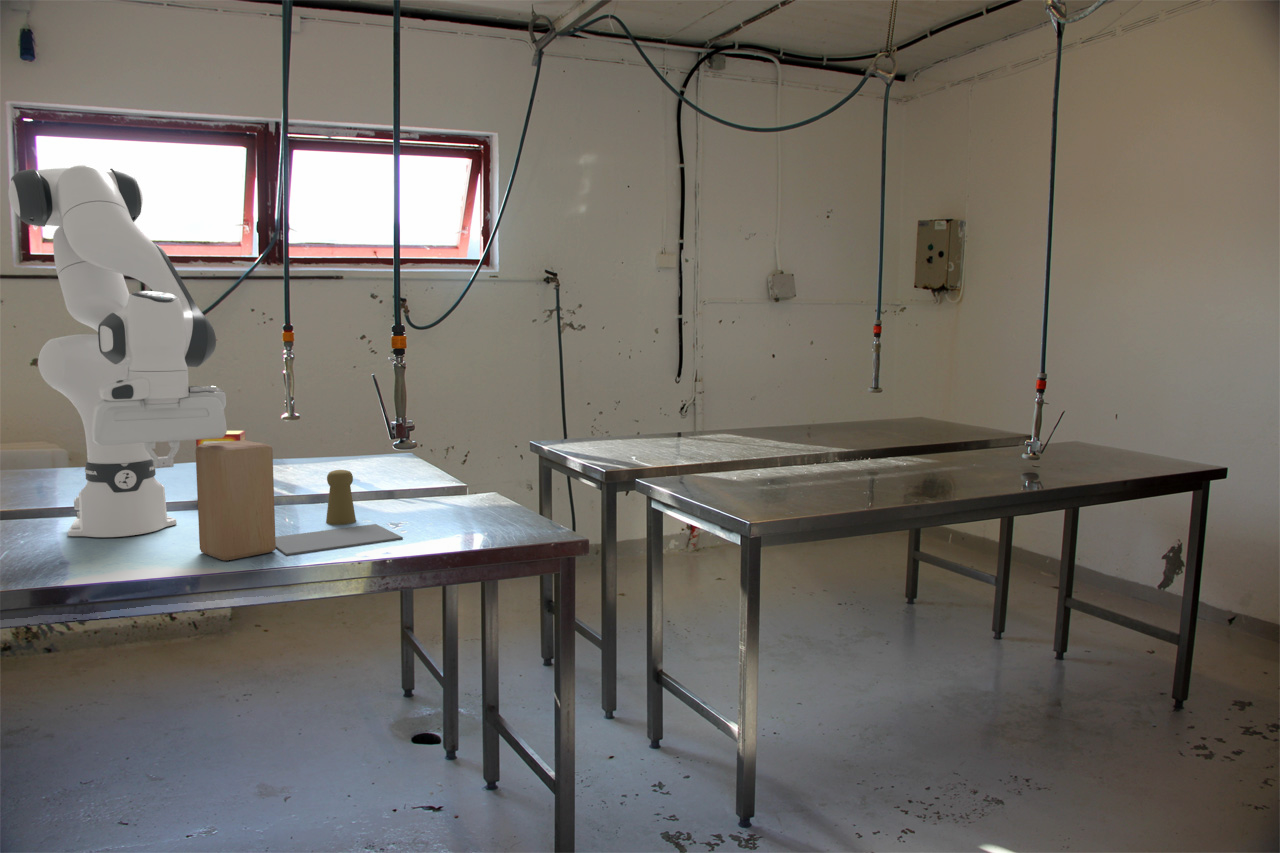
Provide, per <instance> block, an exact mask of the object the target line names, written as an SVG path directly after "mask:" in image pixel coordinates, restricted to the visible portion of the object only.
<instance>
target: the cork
mask: <svg viewBox="0 0 1280 853" xmlns="http://www.w3.org/2000/svg"><path fill="white" fill-rule="evenodd" d="M326 481H327V485H328V486H329V493H328V500H327V501H328V502H327V511H326V520H325V523H326V524H328V525H333V526H334V525H336V526H337V525H339V526H340V525H349V524H353V523H355V522H356V521H357V520H356V519H357V518H356V513H355V507H354V506H355V505H354V499H353V495H352V489H351V487H352V486H351V485H352V484H353V482H354V476H353V473H352V472H351V471H350V470H346V469H335V470H331V471H330V472H328V474H327V476H326Z"/></svg>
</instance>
